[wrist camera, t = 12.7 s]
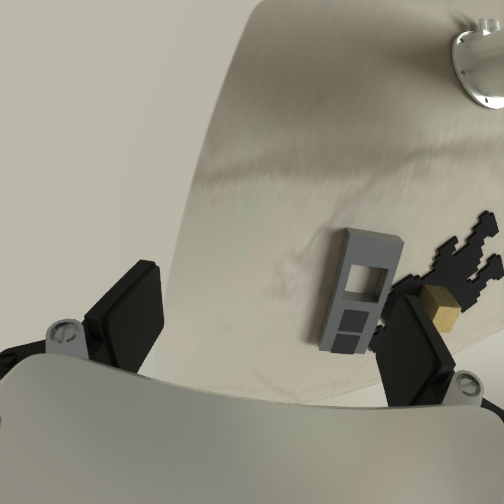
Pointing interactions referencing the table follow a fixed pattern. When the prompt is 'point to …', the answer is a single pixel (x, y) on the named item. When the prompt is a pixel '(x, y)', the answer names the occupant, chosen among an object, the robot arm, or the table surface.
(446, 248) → the black pixelated cutout
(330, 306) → the rail
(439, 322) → the block
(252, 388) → the table surface
